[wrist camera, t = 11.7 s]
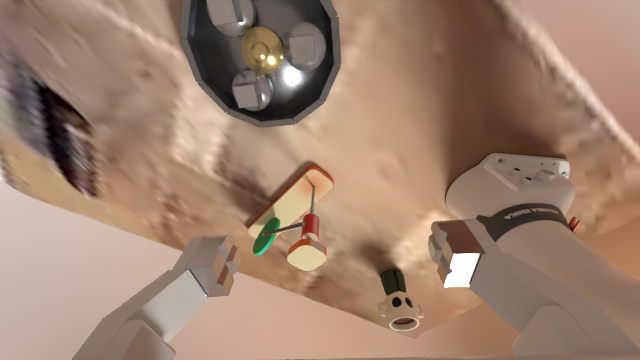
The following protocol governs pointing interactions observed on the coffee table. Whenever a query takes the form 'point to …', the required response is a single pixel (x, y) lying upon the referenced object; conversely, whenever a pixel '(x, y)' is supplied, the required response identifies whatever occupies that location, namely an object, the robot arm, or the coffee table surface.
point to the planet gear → (304, 46)
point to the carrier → (258, 56)
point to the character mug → (398, 303)
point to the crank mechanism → (288, 210)
